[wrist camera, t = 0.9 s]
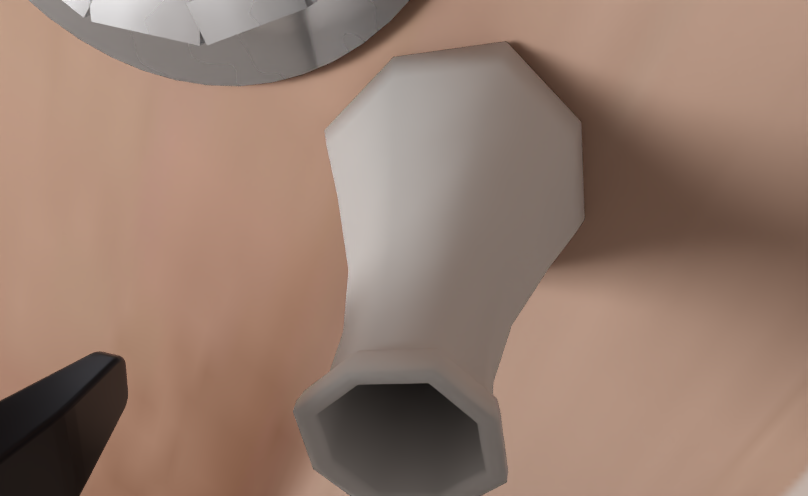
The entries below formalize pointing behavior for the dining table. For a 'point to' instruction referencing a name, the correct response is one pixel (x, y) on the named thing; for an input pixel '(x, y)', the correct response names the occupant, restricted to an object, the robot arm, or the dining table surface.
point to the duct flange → (223, 34)
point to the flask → (438, 265)
